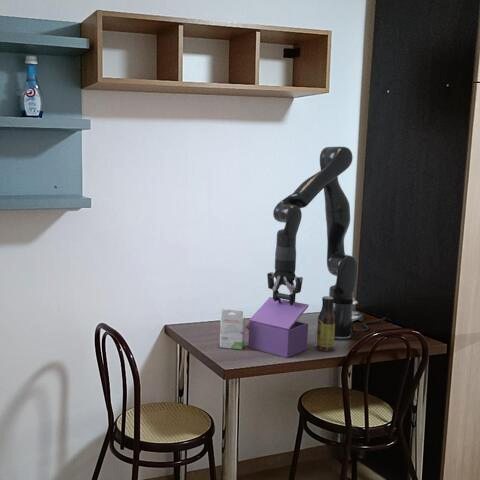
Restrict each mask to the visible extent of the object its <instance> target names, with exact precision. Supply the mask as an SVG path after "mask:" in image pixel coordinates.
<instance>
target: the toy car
mask: <svg viewBox="0 0 480 480" xmlns="http://www.w3.org/2000/svg"><path fill="white" fill-rule="evenodd" d="M358 303H359V301H357V300H356V299H355V298H354V297H353V308H354V309H353V310H352V321H353V322H354V321H357V320H358V321H359V322H363V321H364V315H363V314H360V312H359V311H356V305H358Z"/></svg>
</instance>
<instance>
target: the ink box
mask: <svg viewBox="0 0 480 480" xmlns="http://www.w3.org/2000/svg"><path fill="white" fill-rule="evenodd" d="M220 313H221V314H220V324H219V325H220V328H219V348H222V349H232V350H243V349H244V347H245V324H246V323H245V318H246V317H245V315H244V311H243V310H241V309H240V310H238V309H229V308H228V309H227V308H222V309H221V312H220ZM230 313H233V314H230Z"/></svg>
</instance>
